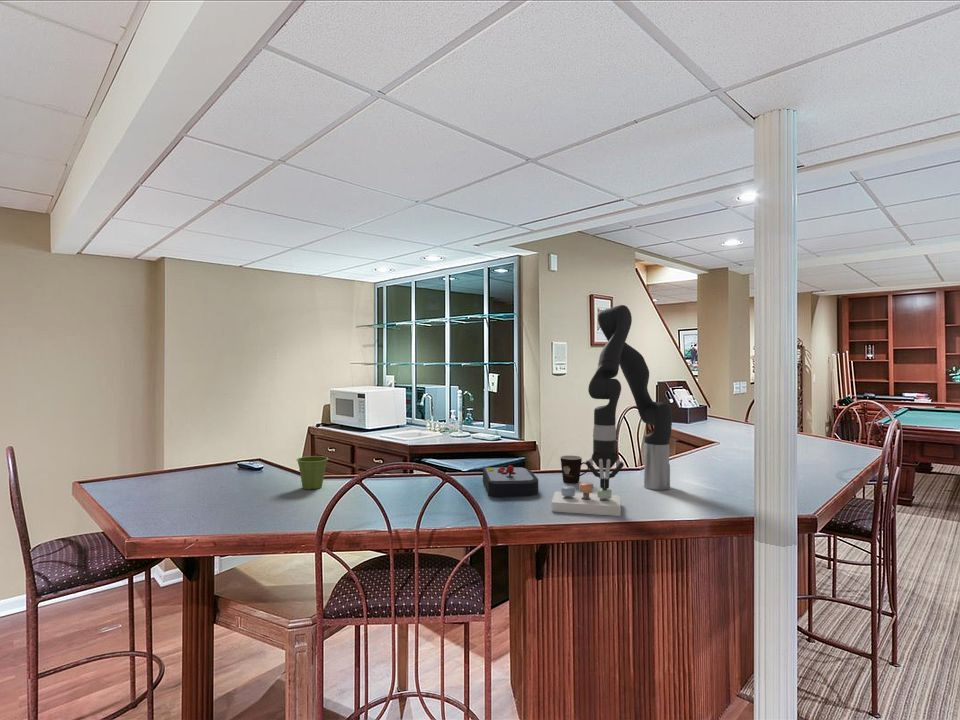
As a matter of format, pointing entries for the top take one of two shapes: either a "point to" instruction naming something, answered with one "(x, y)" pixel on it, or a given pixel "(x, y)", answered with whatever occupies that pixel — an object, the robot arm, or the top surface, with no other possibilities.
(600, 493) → the sage button
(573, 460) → the coffee mug
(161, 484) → the top surface
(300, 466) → the plant pot
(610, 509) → the console
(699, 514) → the top surface
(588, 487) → the terracotta button
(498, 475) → the arcade joystick
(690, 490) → the top surface
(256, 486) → the top surface
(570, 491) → the slate button
